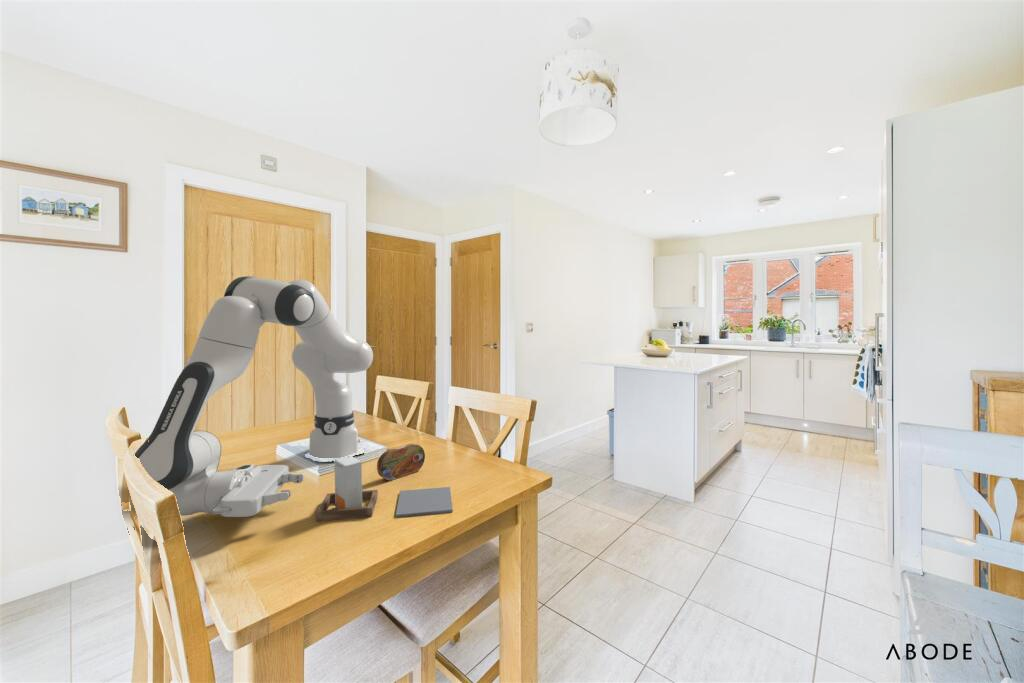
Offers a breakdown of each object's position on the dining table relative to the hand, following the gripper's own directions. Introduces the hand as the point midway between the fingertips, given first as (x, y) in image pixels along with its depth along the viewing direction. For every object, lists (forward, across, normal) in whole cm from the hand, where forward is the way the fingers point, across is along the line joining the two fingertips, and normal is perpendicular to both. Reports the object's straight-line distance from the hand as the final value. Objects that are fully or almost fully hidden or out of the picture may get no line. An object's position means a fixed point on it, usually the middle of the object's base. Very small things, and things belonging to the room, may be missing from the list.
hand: (296, 486), depth 92 cm
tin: (+22, +19, +7) cm, 30 cm away
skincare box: (+12, 0, +7) cm, 13 cm away
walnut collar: (+12, 0, +6) cm, 13 cm away
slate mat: (+30, 0, +6) cm, 30 cm away
